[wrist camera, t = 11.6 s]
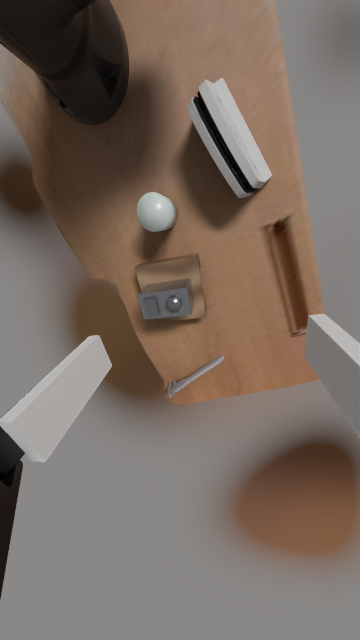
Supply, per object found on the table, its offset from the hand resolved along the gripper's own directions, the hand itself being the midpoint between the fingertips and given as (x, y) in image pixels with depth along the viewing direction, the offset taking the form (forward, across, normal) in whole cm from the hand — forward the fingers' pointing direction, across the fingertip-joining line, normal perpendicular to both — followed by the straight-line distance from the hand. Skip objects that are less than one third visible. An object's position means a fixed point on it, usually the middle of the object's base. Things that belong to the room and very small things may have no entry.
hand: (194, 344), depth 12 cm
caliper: (+35, -8, -33) cm, 49 cm away
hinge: (+35, +6, +17) cm, 40 cm away
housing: (+31, -9, -6) cm, 33 cm away
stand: (+35, -9, -6) cm, 36 cm away
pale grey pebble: (+35, -8, +10) cm, 37 cm away
